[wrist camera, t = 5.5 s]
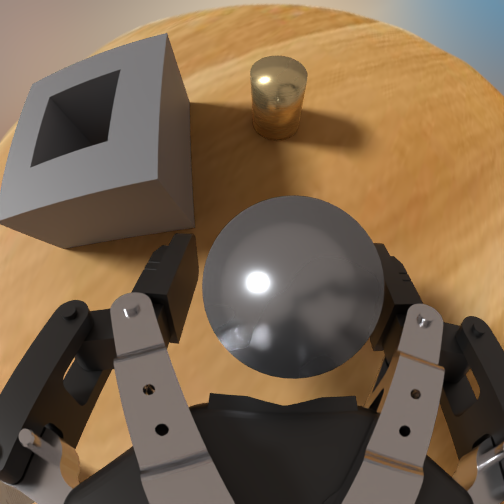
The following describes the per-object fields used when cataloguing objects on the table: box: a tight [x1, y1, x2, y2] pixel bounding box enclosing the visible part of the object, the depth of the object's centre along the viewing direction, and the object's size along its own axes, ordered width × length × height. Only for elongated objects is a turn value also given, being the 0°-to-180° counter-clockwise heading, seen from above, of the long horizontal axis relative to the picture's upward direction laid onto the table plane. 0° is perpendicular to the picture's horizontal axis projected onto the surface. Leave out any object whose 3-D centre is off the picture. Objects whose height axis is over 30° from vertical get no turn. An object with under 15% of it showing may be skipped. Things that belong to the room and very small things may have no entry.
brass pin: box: [250, 56, 307, 140], centre depth 17 cm, size 3×3×5 cm
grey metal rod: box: [202, 196, 384, 379], centre depth 11 cm, size 3×3×12 cm
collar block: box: [0, 33, 195, 249], centre depth 15 cm, size 10×10×7 cm
